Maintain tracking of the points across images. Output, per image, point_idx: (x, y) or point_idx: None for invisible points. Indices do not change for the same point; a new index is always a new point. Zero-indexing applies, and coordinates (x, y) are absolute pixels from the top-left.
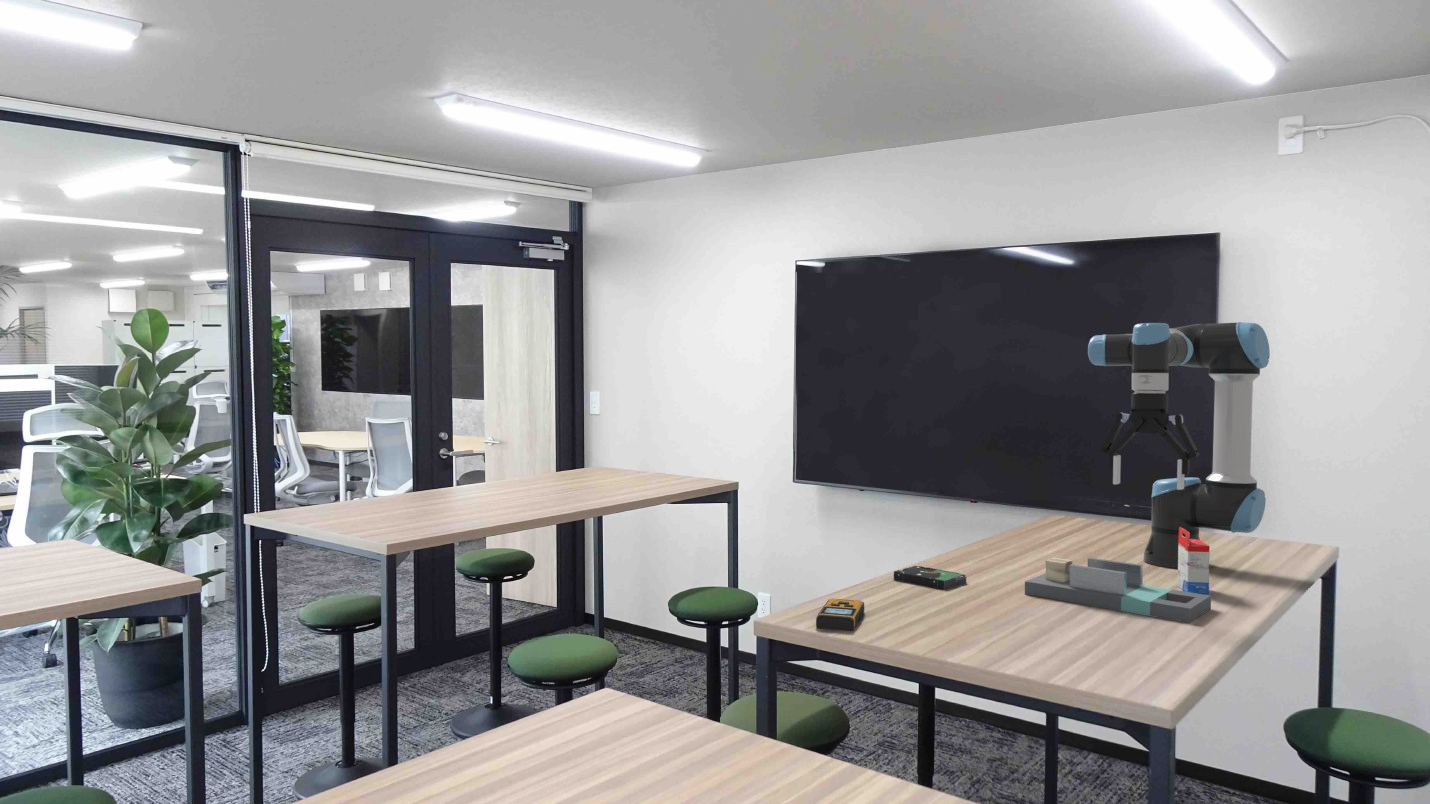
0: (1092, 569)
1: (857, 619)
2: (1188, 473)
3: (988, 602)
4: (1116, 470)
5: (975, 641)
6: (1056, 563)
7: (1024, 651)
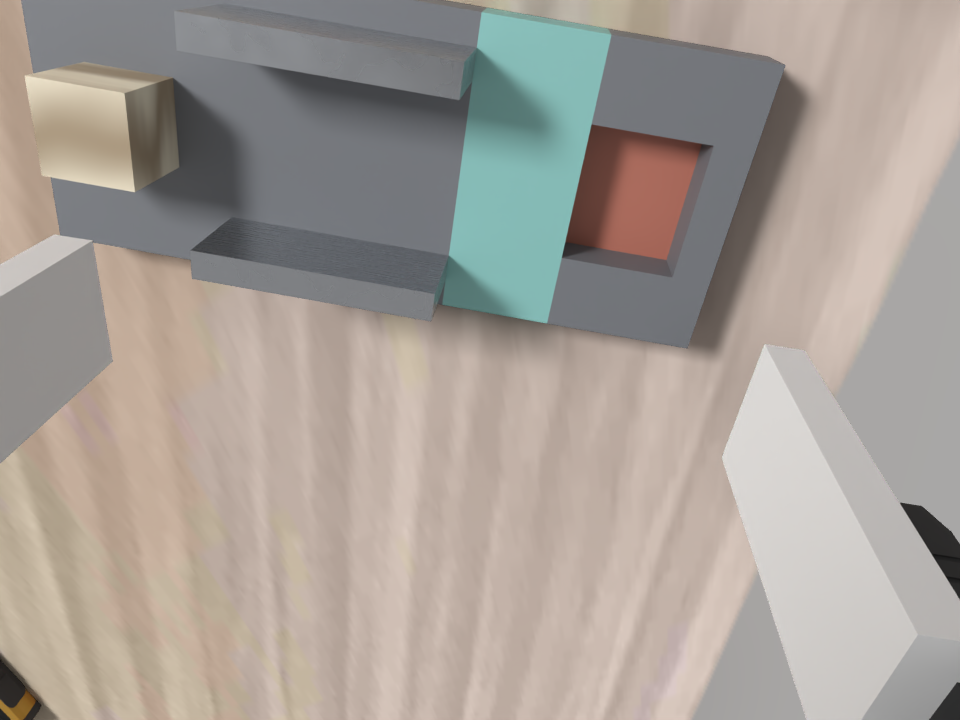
0: (294, 295)
1: (8, 688)
2: (925, 516)
3: None
4: (7, 452)
5: (253, 680)
6: (99, 183)
7: (359, 696)
